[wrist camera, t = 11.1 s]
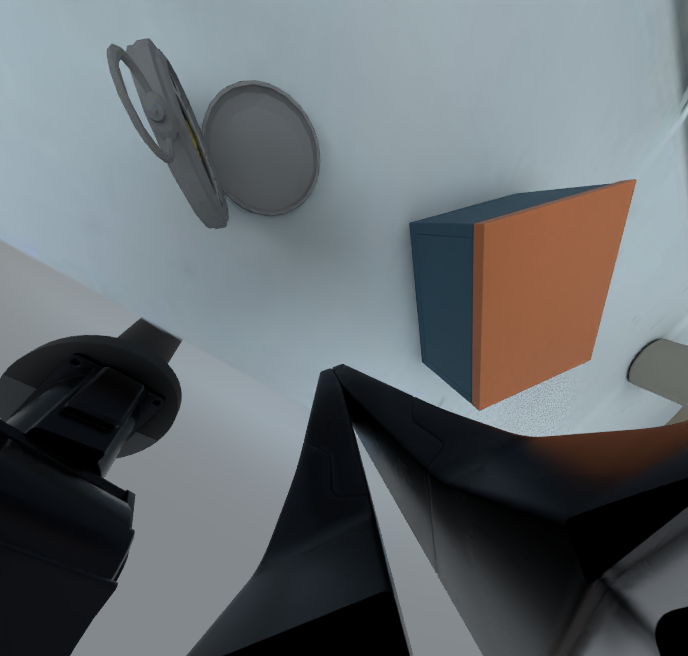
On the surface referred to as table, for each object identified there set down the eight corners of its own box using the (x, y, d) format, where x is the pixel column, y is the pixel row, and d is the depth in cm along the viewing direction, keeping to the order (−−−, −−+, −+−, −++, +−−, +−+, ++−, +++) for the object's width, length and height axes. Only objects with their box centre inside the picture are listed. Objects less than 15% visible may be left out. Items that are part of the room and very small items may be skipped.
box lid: (621, 180, 16) (637, 178, 16) (580, 355, 22) (590, 360, 22) (473, 223, 14) (484, 223, 14) (471, 404, 20) (479, 411, 20)
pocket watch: (337, 160, 17) (420, 97, 8) (257, 256, 18) (257, 291, 9) (227, 25, 13) (172, -349, 5) (131, 153, 14) (-76, 42, 5)
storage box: (516, 193, 22) (611, 183, 16) (506, 329, 28) (573, 358, 22) (409, 222, 20) (472, 223, 14) (422, 362, 26) (471, 404, 20)
